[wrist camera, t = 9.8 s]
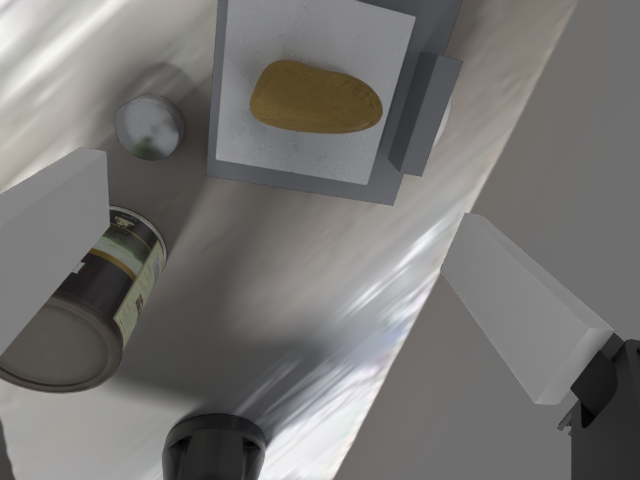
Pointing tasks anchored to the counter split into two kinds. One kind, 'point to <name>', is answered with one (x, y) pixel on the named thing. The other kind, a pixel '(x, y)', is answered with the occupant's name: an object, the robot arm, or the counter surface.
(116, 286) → the coffee can
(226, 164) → the scale base
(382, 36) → the platform
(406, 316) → the counter surface
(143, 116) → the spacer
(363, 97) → the potato
